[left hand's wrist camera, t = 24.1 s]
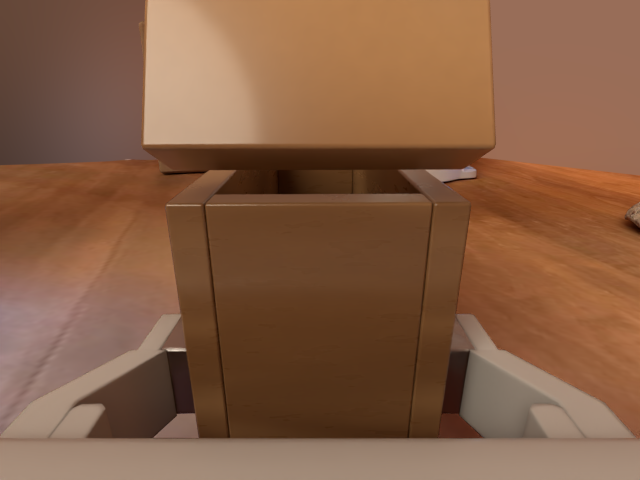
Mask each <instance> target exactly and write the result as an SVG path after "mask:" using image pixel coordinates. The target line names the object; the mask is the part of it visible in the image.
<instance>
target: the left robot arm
mask: <svg viewBox="0 0 640 480" xmlns="http://www.w3.org/2000/svg"><path fill="white" fill-rule="evenodd" d="M185 413H195V408H194V401H193V394H192V387H191V381H190V374H189V367H188V360H187V353H186V346H185V340H184V333H183V326H182V319H181V314H164V315H162V316H161V317H160V319H159V320H158V322H157V323H156V324H155V326H154V327H153V329H152V330H151V331H150V333H149V334H148V336H147V337H146V338H145V340H144V341H143V343H142V344H141V345H140V347H139V348H138V350H130V351H128V352H126V353H124V354H123V355H121V356H119V357H117V358H115V359H113V360H111V361H109V362H107V363H105V364H103V365H101V366H100V367H98V368H96V369H94V370H92V371H90V372H88V373H86V374H84V375H82V376H80V377H78V378H77V379H75V380H73V381H71V382H69V383H67V384H65V385H63V386H61V387H59V388H57V389H55V390H54V391H52V392H50V393H48V394H46V395H44V396H42V397H40V398H38V399H36V400H34V401H32V402H31V403H30V404H29V405H28V406H27V407H26V408H25V409H24V410H23V411H22V413H21V414H20V415H19V416H18V417H17V418H16V419H15V420H14V421H13V422H12V423H11V424H10V425H9V426H8V428H7V429H6V430H5V431H4V432H3V433H2V434H1V435H0V480H640V438H636V437H635V436H634V434H633V433H632V432H631V431H630V430H629V429H628V428H627V427H626V426H625V425H624V423H623V422H622V421H621V420H620V419H619V418H618V417H617V416H616V415H615V414H614V413H613V411H612V410H611V409H610V408H609V407H608V406H607V405H606V404H605V403H604V402H602V401H600V400H598V399H597V398H595V397H593V396H591V395H589V394H587V393H585V392H583V391H581V390H580V389H578V388H576V387H574V386H572V385H570V384H568V383H566V382H564V381H563V380H561V379H559V378H557V377H555V376H553V375H551V374H549V373H547V372H546V371H544V370H542V369H540V368H538V367H536V366H534V365H532V364H530V363H528V362H527V361H525V360H523V359H521V358H519V357H517V356H515V355H513V354H511V353H510V352H508V351H506V350H498V348H497V347H496V345H495V344H494V343H493V341H492V340H491V338H490V337H489V335H488V334H487V333H486V331H485V330H484V328H483V327H482V326H481V324H480V323H479V321H478V320H477V318H476V317H475V316H474V315H473V314H471V313H470V314H456V316H455V323H454V330H453V337H452V344H451V351H450V358H449V365H448V372H447V379H446V386H445V393H444V400H443V407H442V413H451V414H459V415H460V416H461V417H462V418H463V419H464V420H465V421H466V422H467V423H468V424H469V425H470V426H471V427H472V428H474V429H475V430H476V431H477V432H478V433H479V434H480V435H481V436H482V437H483V438H153V437H154V436H155V435H156V434H157V433H158V432H160V431H161V430H162V429H163V428H164V427H165V426H166V425H167V424H168V423H169V422H170V421H172V420H173V419H174V418H175V417H176V416H177V414H185Z"/></svg>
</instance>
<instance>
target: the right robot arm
mask: <svg viewBox="0 0 640 480" xmlns="http://www.w3.org/2000/svg"><path fill="white" fill-rule="evenodd" d="M426 171H427V172H429V173H430V174H431V175H433V176H434V177H436V178H437V179H438V180H440V181H441V182H444V181H451V180H455V179H463V178H475V177H476V174H477V170H476V169H474V168H473V167H471V166H470V165H469V166H467V167H466V168H464V169H460V170H426Z"/></svg>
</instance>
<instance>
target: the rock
mask: <svg viewBox="0 0 640 480" xmlns="http://www.w3.org/2000/svg"><path fill="white" fill-rule="evenodd" d="M625 219H626V220H630V221H632V222H633V223H635V224H636V225H637V226H638V227H639V228H640V202H639V203H637V204H636V205H634V206H632V207H631V208H630V209H629V210H628V211H627V213H626V215H625Z"/></svg>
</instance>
